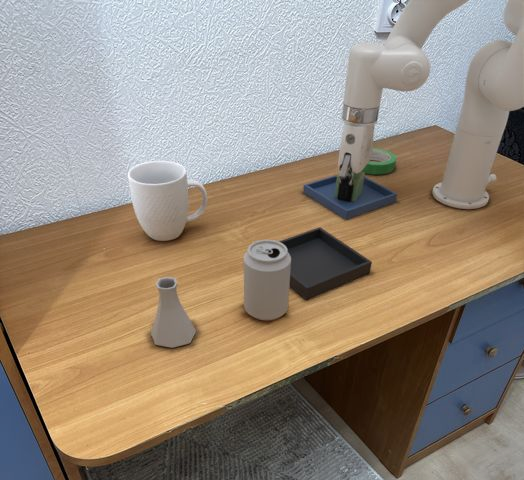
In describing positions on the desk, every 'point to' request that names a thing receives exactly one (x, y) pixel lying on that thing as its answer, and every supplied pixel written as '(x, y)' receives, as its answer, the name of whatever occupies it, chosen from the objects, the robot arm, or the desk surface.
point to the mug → (162, 198)
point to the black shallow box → (322, 262)
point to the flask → (171, 317)
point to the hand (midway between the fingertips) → (348, 194)
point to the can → (266, 279)
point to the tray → (367, 201)
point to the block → (356, 182)
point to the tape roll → (383, 166)
